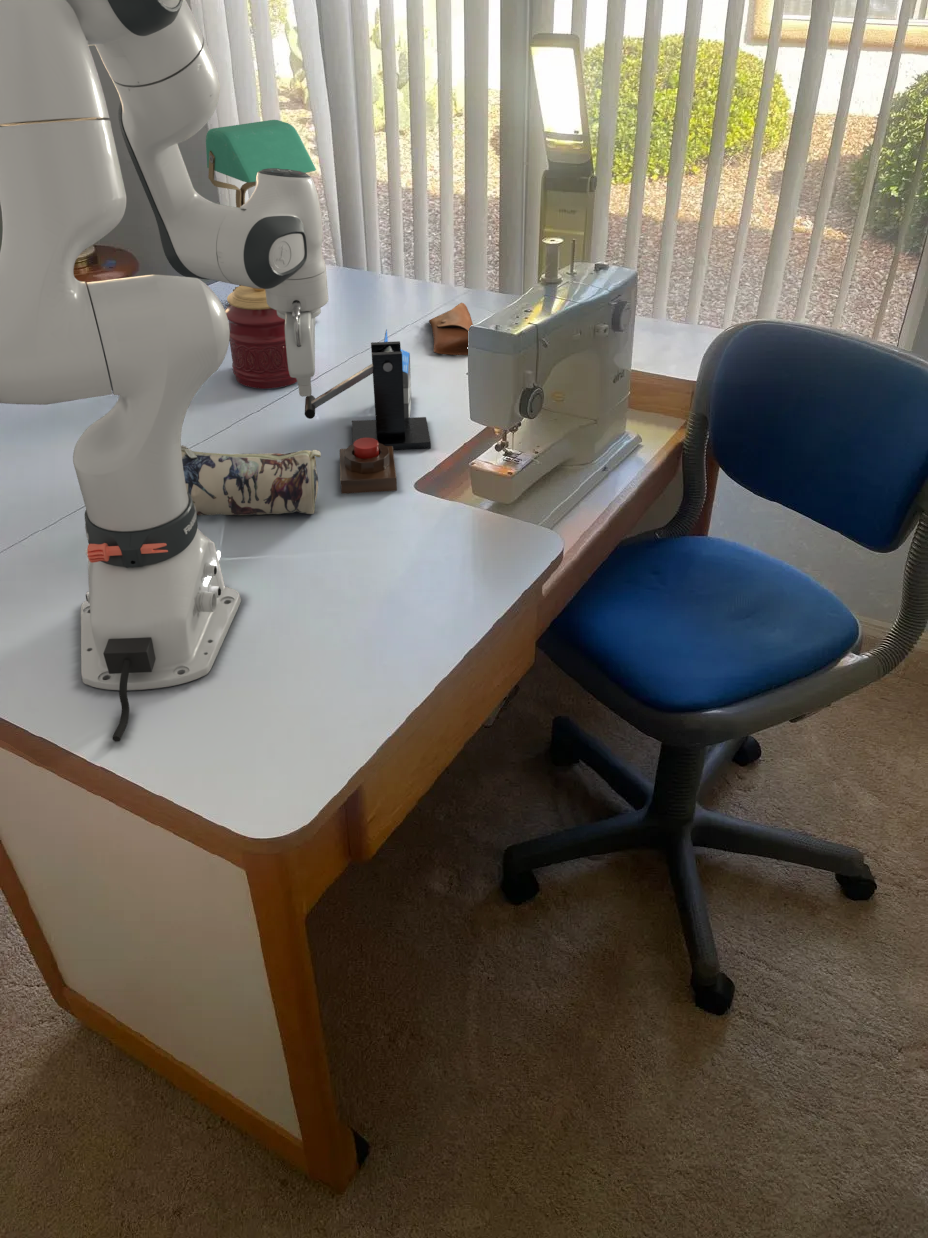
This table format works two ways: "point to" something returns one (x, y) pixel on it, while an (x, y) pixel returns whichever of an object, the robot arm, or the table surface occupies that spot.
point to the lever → (337, 389)
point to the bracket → (391, 405)
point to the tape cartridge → (405, 380)
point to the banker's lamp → (254, 153)
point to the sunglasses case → (452, 331)
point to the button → (366, 448)
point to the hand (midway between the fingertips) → (306, 380)
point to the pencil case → (251, 482)
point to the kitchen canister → (257, 340)
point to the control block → (367, 471)
